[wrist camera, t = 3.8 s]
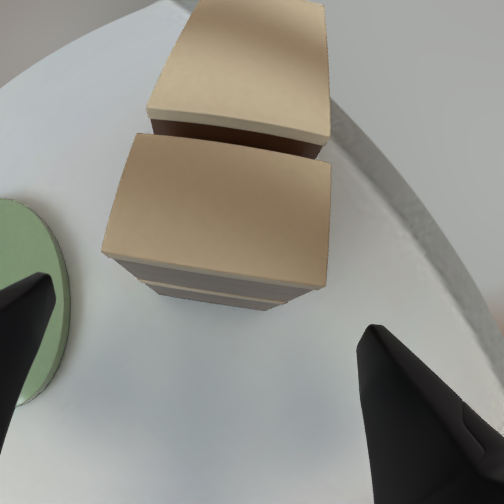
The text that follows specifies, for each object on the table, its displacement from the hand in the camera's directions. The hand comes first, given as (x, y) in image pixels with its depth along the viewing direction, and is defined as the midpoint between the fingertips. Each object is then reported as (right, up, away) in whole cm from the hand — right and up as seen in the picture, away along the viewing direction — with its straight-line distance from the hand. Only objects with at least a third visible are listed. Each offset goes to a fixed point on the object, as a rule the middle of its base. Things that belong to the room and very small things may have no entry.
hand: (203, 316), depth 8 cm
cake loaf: (0, +8, +13) cm, 15 cm away
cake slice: (-1, +1, +11) cm, 11 cm away
